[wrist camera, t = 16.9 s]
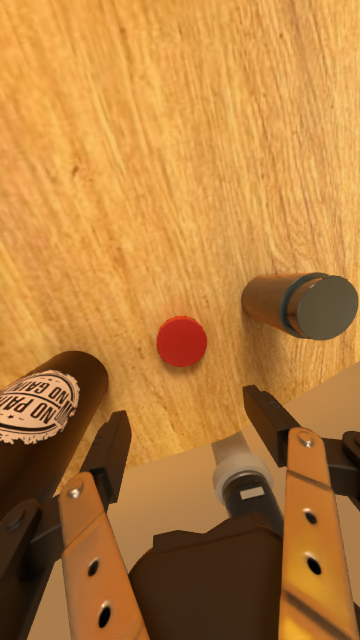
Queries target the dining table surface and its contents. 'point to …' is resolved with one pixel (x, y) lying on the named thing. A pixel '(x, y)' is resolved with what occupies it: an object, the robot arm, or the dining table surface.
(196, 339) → the jar lid
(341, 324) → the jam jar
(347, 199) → the dining table surface
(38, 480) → the water bottle
